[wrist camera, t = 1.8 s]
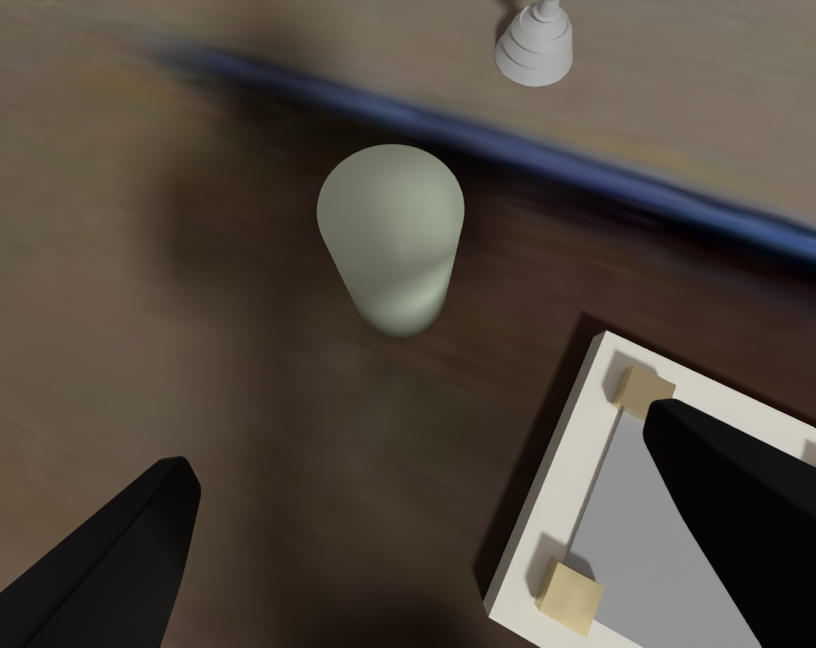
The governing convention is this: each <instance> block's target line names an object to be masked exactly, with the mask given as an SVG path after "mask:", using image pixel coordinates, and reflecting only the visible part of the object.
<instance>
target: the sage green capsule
mask: <svg viewBox="0 0 816 648" xmlns="http://www.w3.org/2000/svg"><path fill="white" fill-rule="evenodd" d="M463 219H464V199H463V195H462V191H461V188H460V186H459V183H458V182H457V180H456V178H455V176H454V175H453V174H452V172H451V171H450V170H449V168H448V167H447V166H446V165H445V164H443V163H442V162H441V161H440V160H439V159H437V158H436V157H434V156H433V155H431V154H429V153H427V152H425V151H423V150H420V149H418V148H414V147H411V146H405V145H395V144H389V145H379V146H373V147H370V148H366V149H364V150H361V151H359V152H356V153H355V154H353V155H351V156H349V157H348V158H346V159H345V160H344V161H342V162H341V163H340V164H339V165H338V166H337V167H336V168H335V169H334V170H333V171H332V172H331V173H330V175H329V176H328V178H327V179H326V181H325V182H324V184H323V187H322V189H321V191H320V195H319V198H318V204H317V220H318V226H319V229H320V232H321V235H322V237H323V239H324V241H325V243H326V245H327V248H328V250H329V252H330V254H331V256H332V258H333V260H334V262H335V264H336V266H337V269H338V271H339V273H340V275H341V277H342V279H343V281H344V283H345V285H346V287H347V290H348V292H349V294H350V296H351V298H352V300H353V302H354V304H355V306H356V308H357V310H358V313H359V315H360V316H361V318H362V319H363V321H364V322H365V323H366V324H367V325H368V326H369V327H370V328H371V329H373V330H374V331H376V332H378V333H380V334H382V335H385V336H388V337H394V338H405V337H411V336H414V335H417V334H419V333H421V332H423V331H425V330H426V329H428V328H429V327H430V326H431V325H432V324H433V323H434V322H435V321H436V320H437V318H438V317H439V315H440V313H441V311H442V309H443V306H444V302H445V297H446V293H447V289H448V284H449V280H450V276H451V272H452V267H453V263H454V259H455V254H456V250H457V246H458V241H459V237H460V233H461V228H462V224H463Z"/></svg>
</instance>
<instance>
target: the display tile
mask: <svg viewBox="0 0 816 648" xmlns="http://www.w3.org/2000/svg"><path fill="white" fill-rule="evenodd" d="M668 398H675V399H678V400H681V401H683V402H685V403H687V404H689V405H691V406H693V407H695V408H697V409H699V410H701V411H703V412H705V413H707V414H709V415H711V416H713V417H715V418H717V419H719V420H721V421H723V422H725V423H727V424H729V425H731V426H733V427H735V428H737V429H739V430H741V431H743V432H745V433H747V434H749V435H751V436H753V437H755V438H757V439H759V440H761V441H764V442H766V443H768V444H770V445H772V446H774V447H776V448H778V449H780V450H782V451H784V452H786V453H788V454H790V455H792V456H794V457H796V458H798V459H800V460H802V461H804V462H806V463H808V464H810V465H812V466H814V467H816V428H814V427H812V426H810V425H808V424H806V423H803V422H801V421H799V420H797V419H795V418H793V417H791V416H788V415H786V414H784V413H782V412H780V411H778V410H776V409H773V408H771V407H769V406H767V405H765V404H763V403H761V402H758V401H756V400H754V399H752V398H750V397H748V396H746V395H743V394H741V393H739V392H737V391H735V390H733V389H731V388H728V387H726V386H724V385H722V384H720V383H718V382H716V381H714V380H711V379H709V378H707V377H705V376H703V375H701V374H699V373H696V372H694V371H692V370H690V369H688V368H686V367H684V366H681V365H679V364H677V363H675V362H673V361H671V360H669V359H666V358H664V357H662V356H660V355H658V354H656V353H654V352H651V351H649V350H647V349H645V348H643V347H641V346H639V345H637V344H634V343H632V342H630V341H628V340H626V339H624V338H622V337H619V336H617V335H615V334H613V333H611V332H609V331H607V330H606V331H604V332H602V333H601V334H599V335H597V336H595V337H593V340H592V342H591V345H590V347H589V349H588V352H587V354H586V356H585V359H584V361H583V364H582V366H581V368H580V371H579V373H578V376H577V378H576V380H575V383H574V385H573V388H572V390H571V392H570V395H569V397H568V400H567V402H566V404H565V407H564V409H563V412H562V414H561V416H560V419H559V421H558V424H557V426H556V428H555V431H554V433H553V436H552V438H551V440H550V443H549V445H548V448H547V450H546V452H545V455H544V457H543V460H542V462H541V464H540V467H539V469H538V472H537V474H536V476H535V479H534V481H533V484H532V486H531V488H530V491H529V493H528V496H527V498H526V500H525V503H524V505H523V508H522V510H521V512H520V515H519V517H518V520H517V522H516V524H515V527H514V529H513V532H512V534H511V536H510V539H509V541H508V543H507V546H506V548H505V551H504V553H503V555H502V558H501V560H500V563H499V565H498V567H497V570H496V572H495V575H494V577H493V579H492V582H491V584H490V587H489V589H488V591H487V594H486V596H485V599H484V601H483V604H484V606H485V609H486V611H487V614H488V617H490V618H491V619H493V620H495V621H496V622H498V623H500V624H502V625H503V626H505V627H507V628H508V629H510V630H512V631H513V632H515V633H517V634H519V635H520V636H522V637H524V638H525V639H527V640H529V641H530V642H532V643H534V644H536V645H537V646H539V647H541V648H762V647H761V645H760V644H759V642H758V641H757V639H756V637H755V636H754V634H753V632H752V631H751V629H750V628H749V626H748V624H747V623H746V621H745V620H744V618H743V616H742V615H741V613H740V612H739V610H738V608H737V607H736V605H735V603H734V602H733V600H732V599H731V597H730V595H729V594H728V592H727V591H726V589H725V587H724V586H723V584H722V582H721V581H720V579H719V578H718V576H717V574H716V573H715V571H714V570H713V568H712V566H711V565H710V563H709V561H708V560H707V558H706V557H705V555H704V553H703V552H702V550H701V549H700V547H699V545H698V544H697V542H696V541H695V539H694V537H693V536H692V534H691V532H690V531H689V529H688V527H687V526H686V524H685V522H684V521H683V519H682V517H681V515H680V514H679V512H678V510H677V508H676V506H675V504H674V502H673V500H672V498H671V496H670V494H669V492H668V490H667V488H666V486H665V484H664V482H663V480H662V478H661V476H660V474H659V472H658V469H657V467H656V465H655V463H654V461H653V459H652V457H651V455H650V453H649V451H648V449H647V447H646V445H645V443H644V440H643V427H644V423H645V420H646V416H647V412H648V409H649V405H650V404H651V402H652V401H654V400H659V399H668Z"/></svg>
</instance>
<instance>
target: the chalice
mask: <svg viewBox="0 0 816 648" xmlns="http://www.w3.org/2000/svg"><path fill="white" fill-rule="evenodd" d="M572 41H573V40H572V25H571V23H570V20H569V18H568V16H567V14H566V13H565V12H564V11H563V9H561V8H560V7H559V0H542V1H541V2H538V3H533V4H531V5H528V6H527V7H525V8H524V9H523V10H522V11H520V12H519V13H518V14H517V15H516V16H515V18H514V19H513V21H512V23H511V24H510V25H509V26H508V28H507V29H506V31H505V33H504V35H502V36H501V37H500V39H499V41H498V42H497V44H496V46H495V54H494V57H495V60H496V64H497V66H498V68H499V69H500V70H501V72H502V73H503V74H504V75H505V76H506V77H508V78H509V79H510V80H512V81H513V82H516V83H519V84H522V85H524V86H534V87H539V86H545V85H550V84H552V83H554V82H556V81H559V80H560V79H561V78H563V77H564V76H565V75H566V74H567V73H568V71H569V69H570V67H571V65H572V60H573V52H572Z"/></svg>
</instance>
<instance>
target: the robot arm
mask: <svg viewBox="0 0 816 648" xmlns="http://www.w3.org/2000/svg"><path fill="white" fill-rule="evenodd" d="M643 440H644V443H645V445H646V447H647V449H648V451H649V453H650V455H651V457H652V459H653V461H654V463H655V465H656V467H657V469H658V472H659V474H660V476H661V478H662V480H663V482H664V484H665V486H666V488H667V490H668V492H669V494H670V496H671V498H672V500H673V502H674V504H675V506H676V508H677V510H678V512H679V514H680V515H681V517H682V519H683V521H684V522H685V524H686V526H687V527H688V529H689V531H690V532H691V534H692V536H693V537H694V539H695V541H696V542H697V544H698V545H699V547H700V549H701V550H702V552H703V553H704V555H705V557H706V558H707V560H708V561H709V563H710V565H711V566H712V568H713V570H714V571H715V573H716V574H717V576H718V578H719V579H720V581H721V582H722V584H723V586H724V587H725V589H726V591H727V592H728V594H729V595H730V597H731V599H732V600H733V602H734V603H735V605H736V607H737V608H738V610H739V612H740V613H741V615H742V616H743V618H744V620H745V621H746V623H747V624H748V626H749V628H750V629H751V631H752V632H753V634H754V636H755V637H756V639H757V641H758V642H759V644H760V645H761V647H762V648H816V467H814V466H812V465H810V464H808V463H806V462H804V461H802V460H800V459H798V458H796V457H794V456H792V455H790V454H788V453H786V452H784V451H782V450H780V449H778V448H776V447H774V446H772V445H770V444H768V443H766V442H764V441H761V440H759V439H757V438H755V437H753V436H751V435H749V434H747V433H745V432H743V431H741V430H739V429H737V428H735V427H733V426H731V425H729V424H727V423H725V422H723V421H721V420H719V419H717V418H715V417H713V416H711V415H709V414H707V413H705V412H703V411H701V410H699V409H697V408H695V407H693V406H691V405H689V404H687V403H685V402H683V401H681V400H678V399H675V398H668V399H659V400H654V401H652V402H651V404H650V405H649V409H648V412H647V416H646V420H645V423H644V427H643ZM200 497H201V486H200V483H199V481H198V479H197V477H196V475H195V473H194V471H193V469H192V468H191V466H190V464H189V462H188V460H187V459H186V458H185V457H182V456H178V457H169V458H163V459H160V460H158V461H157V462H156V463H155V464H153V465H152V466H151V467H150V468H149V469H147V470H146V471H145V472H144V473H143V474H141V475H140V476H139V477H138V478H137V479H135V480H134V481H133V482H132V483H131V484H130V485H128V486H127V487H126V488H125V489H124V490H122V491H121V492H120V493H119V494H118V495H116V496H115V497H114V498H113V499H112V500H110V501H109V502H108V503H107V504H106V505H104V506H103V507H102V508H101V509H100V510H98V511H97V512H96V513H95V514H94V515H93V516H91V517H90V518H89V519H88V520H87V521H85V522H84V523H83V524H82V525H81V526H79V527H78V528H77V529H76V530H75V531H73V532H72V533H71V534H70V535H69V536H67V537H66V538H65V539H64V540H63V541H61V542H60V543H59V544H58V545H57V546H56V547H54V548H53V549H52V550H51V551H50V552H48V553H47V554H46V555H45V556H44V557H42V558H41V559H40V560H39V561H38V562H36V563H35V564H34V565H33V566H32V567H30V568H29V569H28V570H27V571H26V572H25V573H23V574H22V575H21V576H20V577H19V578H17V579H16V580H15V581H14V582H13V583H11V584H10V585H9V586H8V587H7V588H5V589H4V590H3V591H2V592H1V593H0V648H160V646H161V642H162V639H163V636H164V633H165V630H166V627H167V624H168V621H169V618H170V615H171V612H172V609H173V606H174V603H175V600H176V597H177V594H178V590H179V587H180V584H181V581H182V577H183V573H184V569H185V565H186V561H187V556H188V552H189V547H190V543H191V538H192V534H193V529H194V525H195V520H196V516H197V511H198V507H199V502H200Z"/></svg>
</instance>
